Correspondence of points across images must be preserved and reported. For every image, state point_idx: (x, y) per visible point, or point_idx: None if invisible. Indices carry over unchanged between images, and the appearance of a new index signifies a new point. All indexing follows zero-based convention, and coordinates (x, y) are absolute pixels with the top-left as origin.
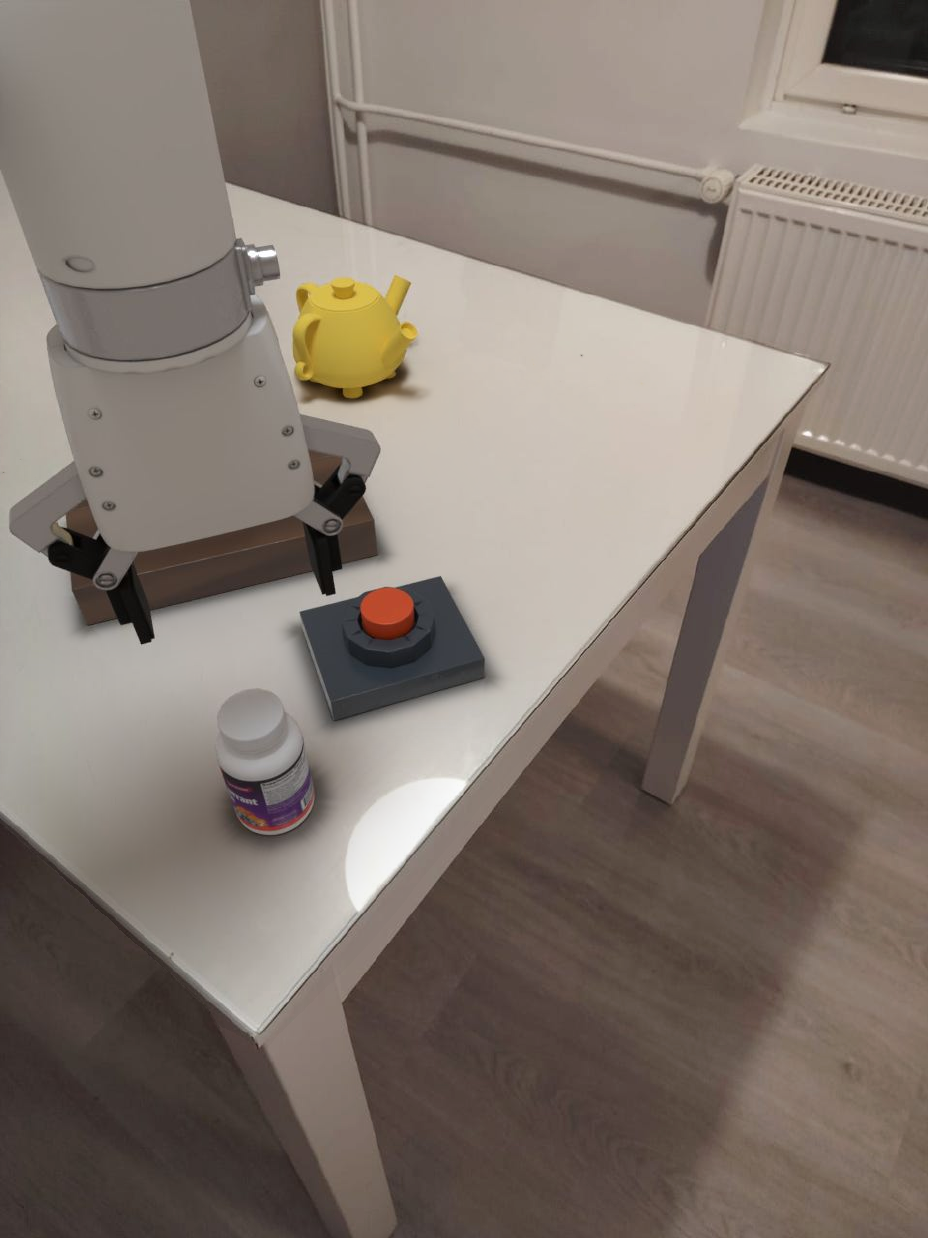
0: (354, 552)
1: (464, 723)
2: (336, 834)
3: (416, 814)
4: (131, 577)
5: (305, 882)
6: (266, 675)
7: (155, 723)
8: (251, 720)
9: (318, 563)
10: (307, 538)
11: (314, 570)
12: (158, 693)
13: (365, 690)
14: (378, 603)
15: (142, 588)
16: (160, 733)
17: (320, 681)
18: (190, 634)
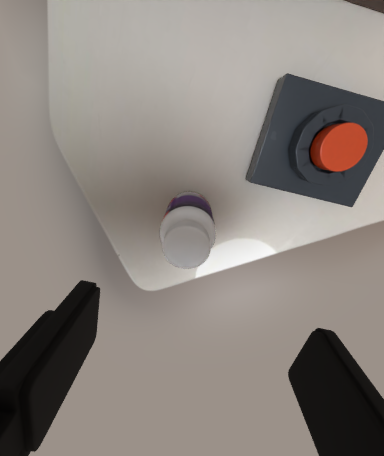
0: (382, 3)
1: (303, 223)
2: None
3: (244, 255)
4: (30, 438)
5: None
6: (230, 111)
7: (146, 108)
8: (184, 254)
9: (315, 439)
10: (343, 408)
11: (307, 362)
12: (156, 78)
13: (274, 186)
14: (340, 141)
15: (83, 313)
16: (147, 120)
17: (257, 143)
18: (200, 17)
